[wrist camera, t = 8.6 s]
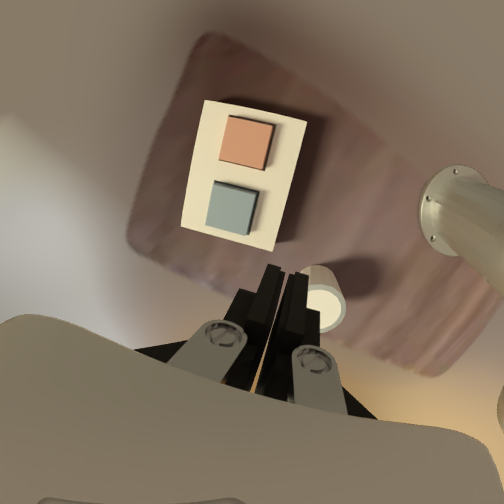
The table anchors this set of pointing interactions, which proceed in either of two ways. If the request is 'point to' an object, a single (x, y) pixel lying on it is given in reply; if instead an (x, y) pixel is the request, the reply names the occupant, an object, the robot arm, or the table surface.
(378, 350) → the table surface
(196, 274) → the table surface
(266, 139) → the key terracotta
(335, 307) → the shot glass
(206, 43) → the table surface
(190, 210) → the board
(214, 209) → the key slate
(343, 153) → the table surface
